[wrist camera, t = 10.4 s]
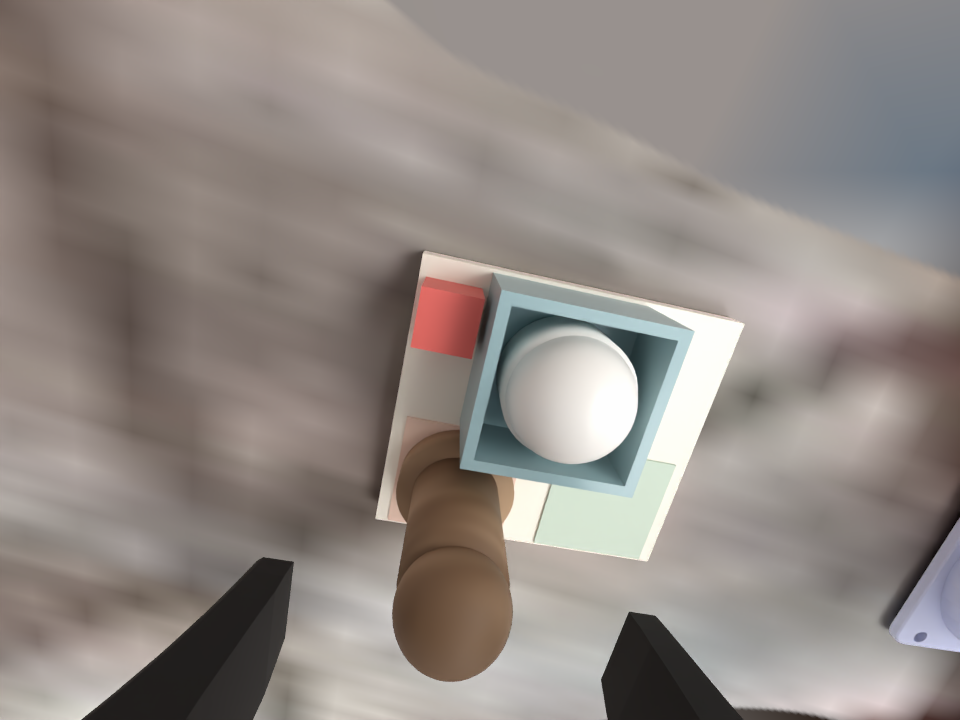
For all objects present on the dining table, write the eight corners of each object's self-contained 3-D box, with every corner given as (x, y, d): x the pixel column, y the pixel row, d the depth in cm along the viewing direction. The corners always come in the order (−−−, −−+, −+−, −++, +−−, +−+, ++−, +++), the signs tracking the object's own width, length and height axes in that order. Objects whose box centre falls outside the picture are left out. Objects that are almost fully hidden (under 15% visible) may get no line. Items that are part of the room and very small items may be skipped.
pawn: (524, 441, 14) (568, 605, 8) (496, 535, 16) (518, 740, 10) (410, 420, 14) (372, 575, 8) (390, 517, 15) (343, 719, 9)
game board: (729, 317, 14) (780, 338, 12) (639, 545, 17) (666, 597, 15) (425, 250, 13) (417, 260, 11) (379, 504, 16) (365, 553, 14)
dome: (633, 329, 13) (688, 369, 10) (596, 439, 14) (635, 506, 11) (512, 304, 12) (530, 336, 9) (484, 418, 13) (491, 481, 10)
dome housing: (647, 306, 13) (694, 331, 11) (601, 445, 15) (632, 498, 12) (493, 272, 13) (501, 289, 10) (459, 419, 14) (459, 468, 12)
